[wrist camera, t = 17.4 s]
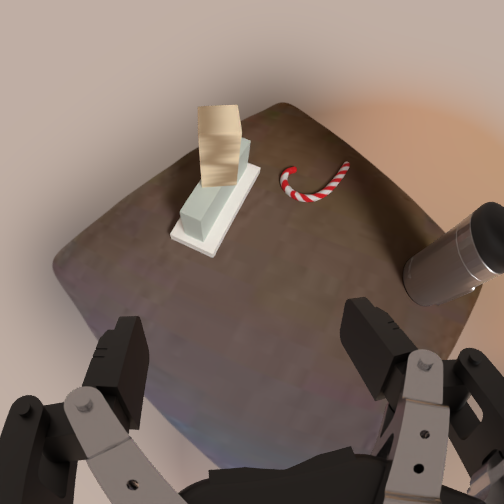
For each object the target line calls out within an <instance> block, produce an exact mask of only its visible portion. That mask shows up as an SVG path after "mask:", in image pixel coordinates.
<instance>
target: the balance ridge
mask: <svg viewBox="0 0 504 504" xmlns="http://www.w3.org/2000/svg"><path fill="white" fill-rule="evenodd" d="M250 142H251V141H250V140H247V139H244V138H241V145H240V155H239V165H238V175H237V185H233V186H217V187H203V188H202V181H201V180H200V181H199V183H198V184H197V186H196V187H195V189H194V190H193V192H192V193H191V195H190V196H189V198H188V199H187V201H186V202H185V204H184V206H183V207H182V209H181V210H180V216H181V217H180V219H179V220H178V222H177V223H176V225H175V227H174V228H173V230H172V232H171V233H170V236H171V239H173V240H175V241H178V242H180V243H182V244H184V245H186V246H188V247H190V248H192V249H195V250H197V251H199V252H201V253H203V254H205V255H207V256H210V257H212V258H213V257H214V255H215V253H216V252H217V250H218V248H219V246H220V244H221V242H222V240H223V238H224V237H225V235H226V233H227V231H228V229H229V227H230V225H231V224H232V222H233V220H234V218H235V216H236V214H237V213H238V211H239V209H240V207H241V205H242V204H243V202H244V200H245V198H246V196H247V194H248V193H249V191H250V189H251V187H252V185H253V184H254V182H255V180H256V178H257V177H258V175H259V173H260V167H257V166H255V165H252V164H250V163H248V156H249V149H250Z"/></svg>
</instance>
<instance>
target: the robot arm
mask: <svg viewBox="0 0 504 504" xmlns="http://www.w3.org/2000/svg"><path fill="white" fill-rule="evenodd" d="M503 273H504V207H502V206H501V205H500V204H498V203H495V202H488V203H485V204H483V205H482V206H480V207H479V208H478V209H477V210H475V211H474V212H473V213H472V214H470V215H469V216H468V217H467V218H465V219H464V220H463V221H462V222H460V223H459V224H457V225H456V226H455V227H453V228H452V229H451V230H450V231H448V232H447V233H445V234H444V235H443V236H441V237H440V238H439V239H437V240H436V241H434V242H433V243H432V244H430V245H429V246H427V247H426V248H424V249H423V250H422V251H420V252H419V253H417V254H416V255H414V256H413V257H411V258H410V259H409V260H408V261H407V263H406V264H405V267H404V271H403V281H404V285H405V288H406V290H407V293H408V294H409V296H410V297H411V298H412V299H413V301H415V302H416V303H417V304H419V305H422V306H430V305H433V304H437V305H441V304H443V303H446V302H448V301H451V300H453V299H455V298H458V297H460V296H463V295H465V294H467V293H470V292H472V291H474V289H475V287H476V286H478V285H480V284H482V283H484V282H486V281H488V280H490V279H493V278H495V277H497V276H498V275H501V274H503ZM340 339H341V342H342V345H343V346H344V348H345V350H346V351H347V353H348V355H349V357H350V358H351V360H352V362H353V363H354V365H355V367H356V369H357V370H358V372H359V374H360V375H361V377H362V379H363V381H364V382H365V384H366V386H367V388H368V389H369V391H370V393H371V395H372V396H373V398H374V400H375V401H377V400H381V399H384V398H386V399H387V401H388V403H387V405H386V407H385V411H384V415H383V419H382V423H381V427H380V430H379V434H378V437H377V441H376V443H375V446H374V448H373V450H372V452H371V454H370V455H366V454H354V452H353V450H352V448H351V446H350V447H346V448H343V449H339V450H336V451H332V452H328V453H324V454H320V455H317V456H315V457H313V458H311V459H309V460H307V461H304V462H302V463H300V464H298V465H295V466H293V467H291V468H288V469H285V470H275V469H259V468H248V467H243V468H232V469H218V470H209V478H208V479H204V480H201V481H199V482H196V483H194V484H192V485H190V486H188V487H186V488H185V489H183V490H182V491H180V492H179V493H177V492H176V491H175V490H174V489H173V488H172V487H171V486H170V484H169V483H168V482H167V481H166V480H165V479H164V478H163V476H162V475H161V474H160V473H159V472H158V471H157V470H156V468H155V467H154V466H153V465H152V463H151V462H150V461H149V460H148V458H147V457H146V456H145V455H144V453H143V452H142V451H141V449H140V448H139V447H138V446H137V444H136V443H135V442H134V440H133V439H132V438H131V437H130V436H129V435H128V434H129V429H135V430H139V426H140V418H141V411H142V404H143V397H144V390H145V384H146V378H147V371H148V366H149V349H148V345H147V342H146V338H145V334H144V331H143V327H142V323H141V320H140V317H139V316H127V317H119V319H118V321H117V324H116V327H115V329H114V330H107V331H106V332H105V333H104V335H103V336H102V337H101V338H100V339H99V342H98V344H97V347H96V350H95V352H94V354H93V358H92V360H91V362H90V365H89V368H88V370H87V373H86V376H85V379H84V382H83V384H82V387H79V388H77V389H75V390H73V391H72V392H70V393H69V394H68V396H67V397H66V399H65V402H63V403H57V404H51V405H44V406H43V404H42V403H41V401H40V400H39V399H38V398H37V397H35V396H32V395H26V396H22V397H20V398H18V399H17V400H16V401H15V402H14V403H13V404H12V406H11V408H10V411H9V414H8V416H7V419H6V422H5V425H4V427H3V430H2V433H1V436H0V504H73V499H74V488H75V479H76V470H77V462H78V460H85V459H86V462H87V464H88V466H89V468H90V470H91V471H92V473H93V475H94V477H95V478H96V480H97V482H98V483H99V485H100V486H101V488H102V490H103V491H104V493H105V494H106V495H107V497H108V498H109V500H110V502H111V503H112V504H504V377H503V376H502V375H501V373H500V372H499V371H498V370H497V369H496V367H495V366H494V365H493V364H492V363H491V362H490V361H489V359H488V358H487V357H486V356H485V355H484V354H483V353H482V352H481V351H479V350H476V349H474V348H466V349H463V350H462V351H461V352H460V354H459V356H458V358H457V359H456V360H441V359H440V357H439V356H438V355H437V354H435V353H433V352H431V351H429V350H423V349H420V350H418V349H417V347H416V346H415V345H414V344H413V343H412V341H411V340H410V339H409V338H408V337H407V335H406V334H405V333H404V332H403V331H402V330H401V329H399V326H398V325H397V324H396V323H394V320H393V319H392V318H391V317H390V316H389V314H388V313H386V312H385V311H383V310H381V309H380V308H378V307H374V306H373V305H372V304H371V302H370V301H369V300H368V299H367V298H366V297H360V298H353V299H348V300H347V301H346V303H345V307H344V313H343V318H342V323H341V328H340ZM471 395H472V396H473V398H474V399H475V400H476V402H477V403H478V405H479V406H480V408H481V409H482V412H483V419H482V422H480V421H479V419H478V418H477V416H476V415H475V413H474V412H473V410H472V409H471V407H470V406H469V404H468V403H467V400H468V399H469V397H470V396H471ZM448 437H449V439H450V440H451V442H452V444H453V446H454V448H455V450H456V451H457V453H458V455H459V457H460V459H461V460H462V462H463V464H464V466H465V468H466V470H467V472H468V474H469V476H470V478H471V481H470V487H469V488H468V490H467V494H465V493H462V492H460V491H457V490H454V489H452V488H449V487H447V486H444V485H442V480H443V474H444V467H445V460H446V452H447V443H448Z"/></svg>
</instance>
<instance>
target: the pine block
mask: <svg viewBox="0 0 504 504" xmlns="http://www.w3.org/2000/svg"><path fill="white" fill-rule="evenodd" d="M241 135H242V129H241V123H240V117H239V110H238V105H220V106H203V107H198V140H199V155H200V168H201V181H202V188H203V187H217V186H233V185H237V175H238V165H239V155H240V145H241Z"/></svg>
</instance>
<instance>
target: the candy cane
mask: <svg viewBox="0 0 504 504" xmlns="http://www.w3.org/2000/svg"><path fill="white" fill-rule="evenodd" d="M349 166H350V163H349V162H344V164H343V165H342V167H341V168H340V170H339V171H338V173H337V174H336V176H335V177H334V178H333V179H332V181H331V182H330V183H329V184H328V185H327V186H326V187H325V188H324V189H322V190H321V191H319V192H317V193H315V194H310V195H306V194H301V193H298V192H296V191H294V190H293V189H292V188H291V187H290V186H289V184H288V182H287V177H288V175H290V174H292V173H295V172H296V171H297V168H296V167H290V168H287V169H286V170H284V172H283V173H282V175H281V178H280V183H281V187H282V189H283V190H284V192H285V193H286V194H287V195H288V196H290V197H291V198H293V199H295V200H298V201H302V202H313V201H317V200H320V199H322V198H324V197H325V196H327V195H328V194H329V193H330V192H331V191H332V190H333V189H334V188H335V187H336V186H337V185H338V184H339V182H340V181H341V180H342V178H343V177H344V175H345V174H346V172H347V170H348V168H349Z"/></svg>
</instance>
